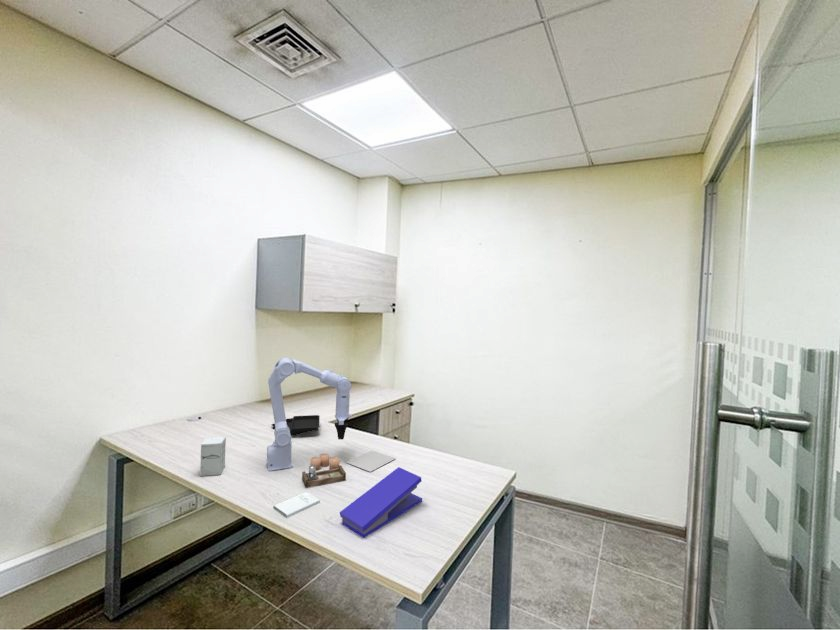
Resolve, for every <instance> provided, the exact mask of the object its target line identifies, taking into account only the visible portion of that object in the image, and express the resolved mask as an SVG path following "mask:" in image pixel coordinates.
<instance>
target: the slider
mask: <svg viewBox="0 0 840 630" xmlns="http://www.w3.org/2000/svg"><path fill="white" fill-rule="evenodd" d="M315 472H317V471H316V466H315V465H311V466H308V472H307V473H306V472H305V473H306V475H307V477H308V481H312V480H317V479H318V477H317V475H316V473H315Z"/></svg>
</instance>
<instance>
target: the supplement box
mask: <svg viewBox="0 0 840 630" xmlns="http://www.w3.org/2000/svg"><path fill="white" fill-rule="evenodd" d="M226 440H227V437H226V436H218V437H217V436H216V437H215V436H213V437H205V438H204V440H203V441H202V442H201V444H200V464H199V465H200V470H199V476H200V477H204V476H205V477H207V476H220V475H221V474H223V471H224V469H225V466H226V445H227V444H226V442H227V441H226Z"/></svg>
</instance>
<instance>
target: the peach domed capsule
mask: <svg viewBox="0 0 840 630" xmlns="http://www.w3.org/2000/svg"><path fill="white" fill-rule="evenodd" d="M311 465H315V466H316V471H315V472H318V471H320V470H321V467H320V466H321V458H320V457H319V456H314V457H311V458H310V466H311Z"/></svg>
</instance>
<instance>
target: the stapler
mask: <svg viewBox="0 0 840 630" xmlns="http://www.w3.org/2000/svg"><path fill="white" fill-rule="evenodd" d="M421 482H422V476H419V475H417V474H415V473H412V472H411V471H408V470H406V469H404V468H402V467H399V466H398V467H397V468H395V469H394V470H393V471H392V472H390V473H389V474H388V475H386V476H385V477H384V478H382V479H381V480H379V482H377V483H376V484H375V485H373V486H372V487H371V488H370V489H368V490H366V491H365V492H364V493H363V494H361V495H360V496H359V497H358V498H356V499H355V500H354V501H353V502H351V503H350V504H348V505H347V506H346V507H344V509H342V510H340V512H339V517H340V518H341V522H342V523H341V525H343V526H345V527H346V528H348V529H349V530H351V531H352V532H354V533H356V534H358V535H359V536H361V538H366V537H367V536H369V535H371V534H372V533H374V532H375V531H377V530H378V529H380V528H381V527H383V526H385V525H386V524H388V523H390V522H391V521H393V520H394V519H396V518H397V517H400V516H401V515H403V514H404V513H406V512H407V511H409V510H410V509H412V508H413V507H415V506H417V505H418V504H420V503H421V502H423V497H420V496H418V495H416V494H414V493H412V492H414V490H416V489H417V488H418V485H419V484H421Z"/></svg>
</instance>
